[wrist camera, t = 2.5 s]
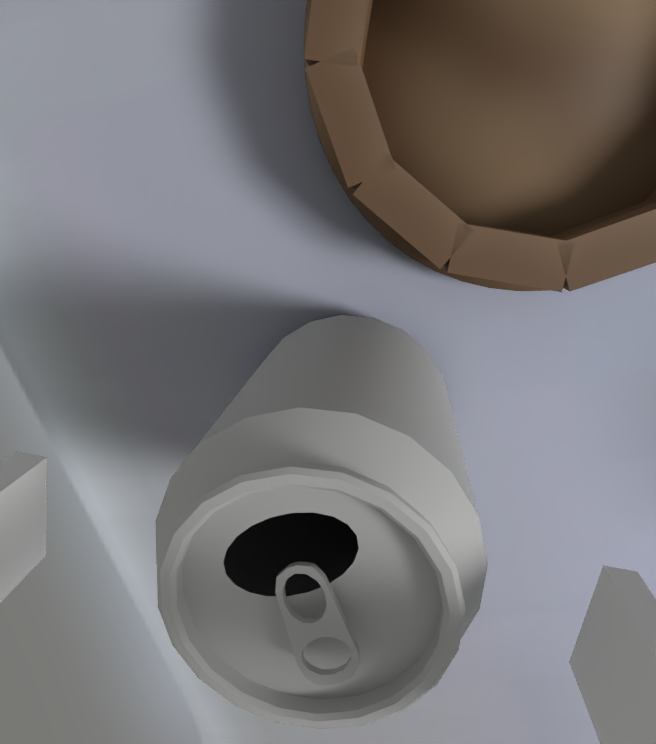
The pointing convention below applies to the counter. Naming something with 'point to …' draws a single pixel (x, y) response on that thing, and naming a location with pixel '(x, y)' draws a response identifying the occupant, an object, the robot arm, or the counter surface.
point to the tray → (494, 132)
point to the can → (325, 532)
